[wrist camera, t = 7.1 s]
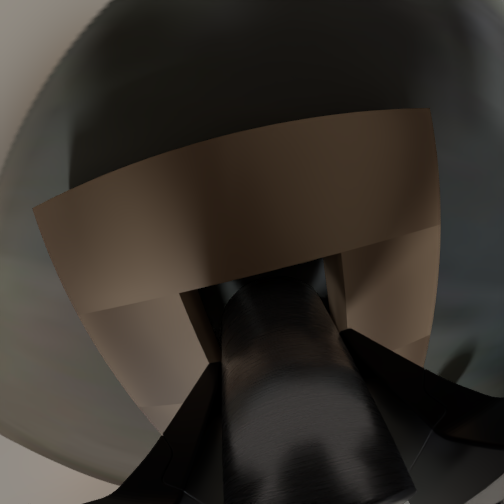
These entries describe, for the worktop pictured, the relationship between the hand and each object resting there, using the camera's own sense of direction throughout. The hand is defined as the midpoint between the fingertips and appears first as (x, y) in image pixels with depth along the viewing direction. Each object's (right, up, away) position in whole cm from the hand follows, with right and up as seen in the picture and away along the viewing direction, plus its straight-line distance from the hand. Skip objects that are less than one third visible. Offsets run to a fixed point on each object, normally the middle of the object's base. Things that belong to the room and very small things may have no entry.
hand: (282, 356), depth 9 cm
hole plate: (0, +1, +3) cm, 4 cm away
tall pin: (0, +1, +2) cm, 2 cm away
